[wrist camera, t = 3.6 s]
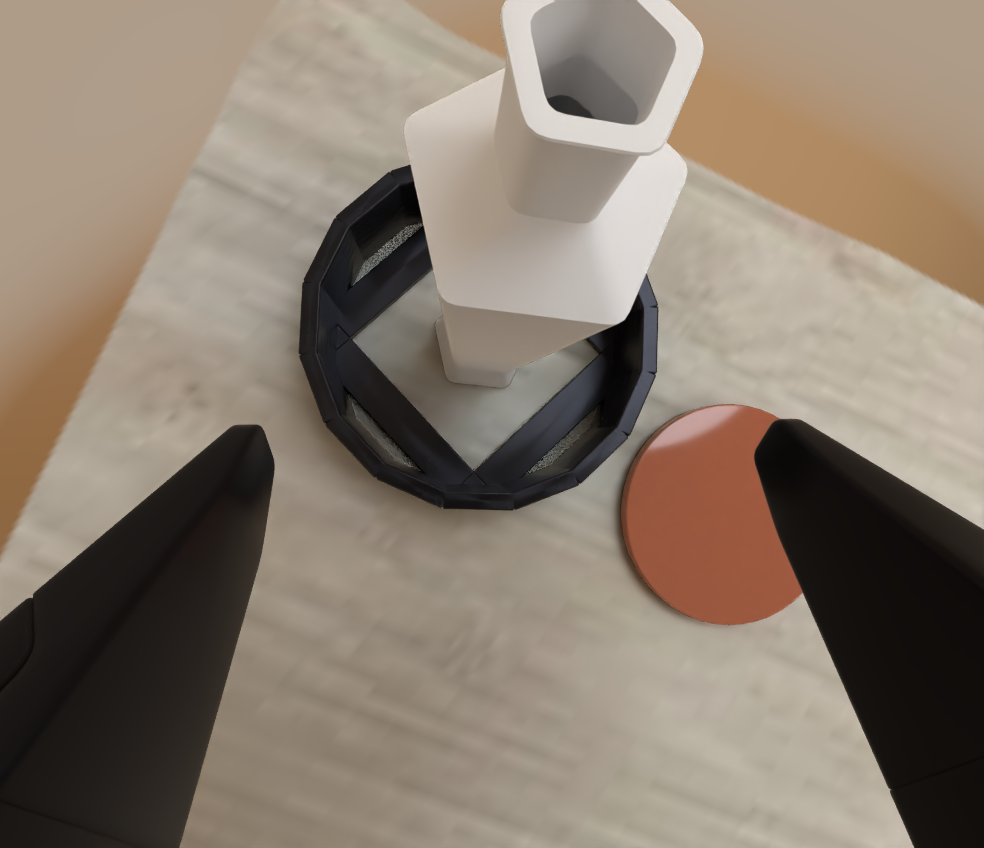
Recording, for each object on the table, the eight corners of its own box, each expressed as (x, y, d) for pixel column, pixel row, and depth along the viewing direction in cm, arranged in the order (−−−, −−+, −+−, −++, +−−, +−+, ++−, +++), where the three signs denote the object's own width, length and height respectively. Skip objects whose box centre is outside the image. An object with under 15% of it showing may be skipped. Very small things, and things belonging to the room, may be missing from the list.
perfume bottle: (398, 348, 20) (266, 52, 5) (472, 269, 20) (565, -233, 5) (484, 425, 20) (616, 377, 5) (555, 345, 20) (875, 79, 5)
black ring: (682, 358, 21) (726, 344, 18) (470, 562, 20) (475, 586, 16) (487, 138, 20) (495, 82, 17) (255, 333, 19) (218, 312, 16)
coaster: (862, 515, 21) (874, 517, 21) (720, 665, 21) (728, 672, 20) (726, 361, 21) (735, 359, 20) (576, 508, 20) (580, 510, 20)
